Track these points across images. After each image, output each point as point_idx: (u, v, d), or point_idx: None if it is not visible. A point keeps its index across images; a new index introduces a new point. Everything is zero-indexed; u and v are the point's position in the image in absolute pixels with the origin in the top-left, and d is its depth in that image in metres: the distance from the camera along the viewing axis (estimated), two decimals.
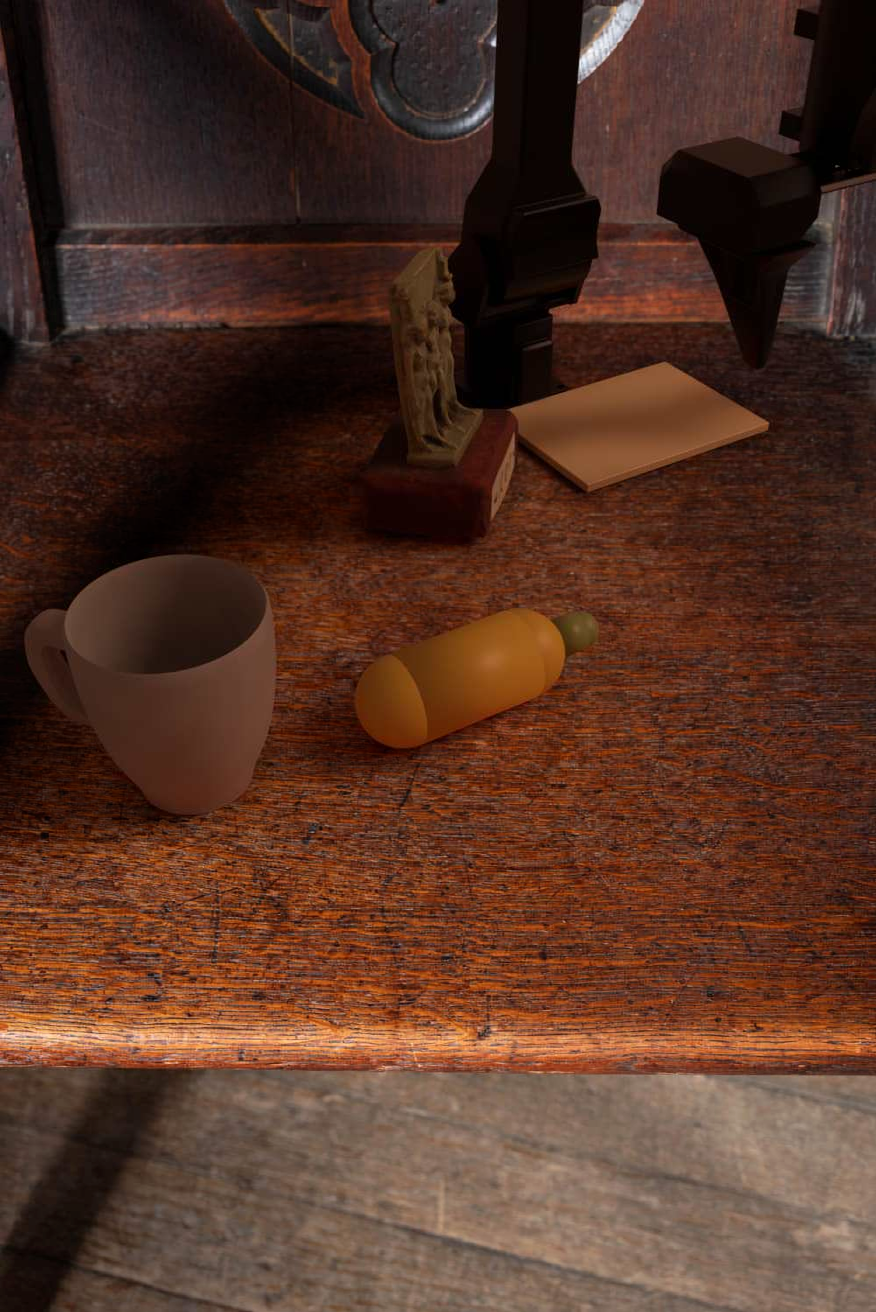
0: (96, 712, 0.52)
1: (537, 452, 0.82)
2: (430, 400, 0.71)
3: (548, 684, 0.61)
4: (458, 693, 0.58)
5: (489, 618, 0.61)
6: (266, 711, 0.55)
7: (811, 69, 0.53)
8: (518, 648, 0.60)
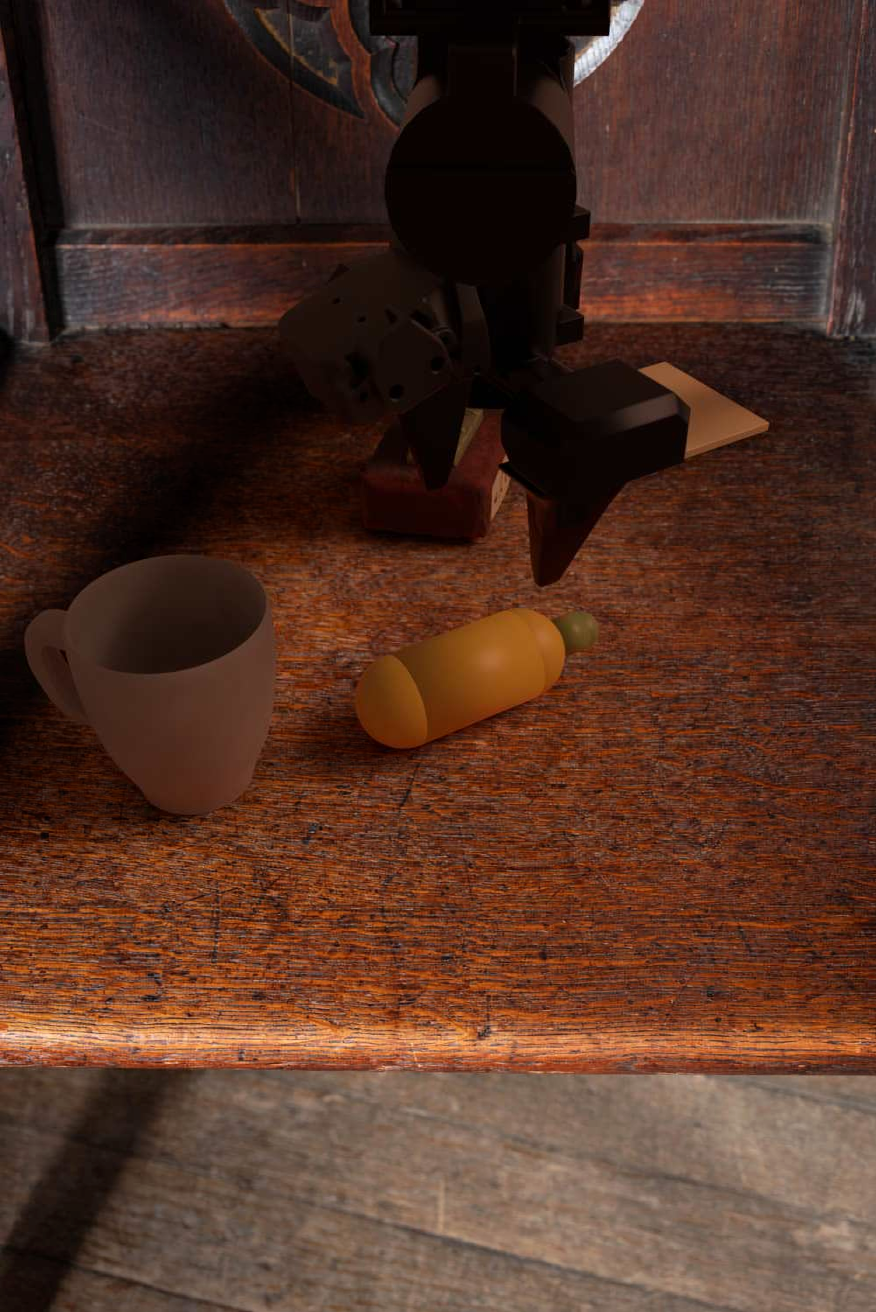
0: (96, 712, 0.52)
1: None
2: None
3: (548, 684, 0.61)
4: (458, 693, 0.58)
5: (489, 618, 0.61)
6: (266, 711, 0.55)
7: None
8: (518, 648, 0.60)
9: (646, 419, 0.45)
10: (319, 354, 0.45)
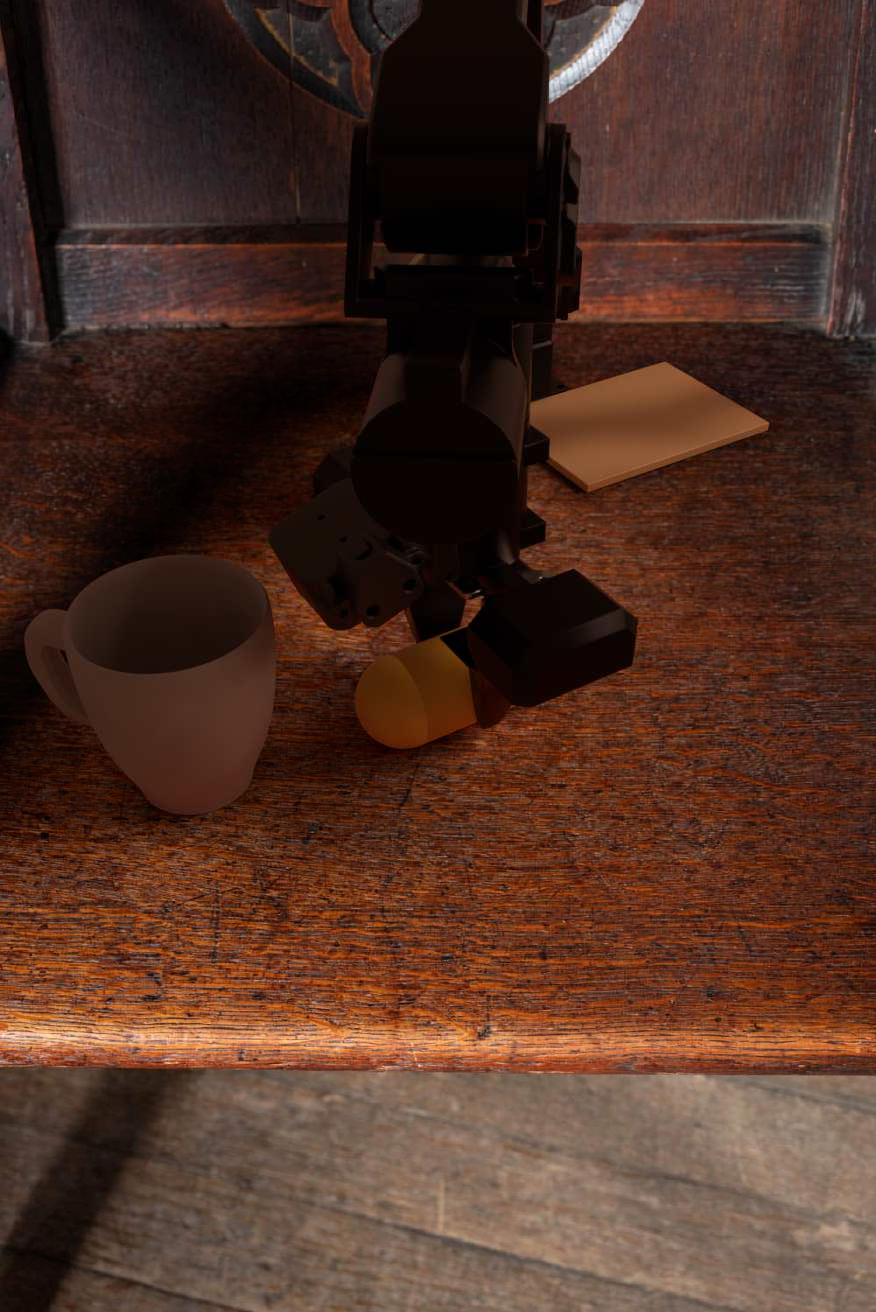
0: (96, 712, 0.52)
1: None
2: None
3: None
4: (458, 693, 0.58)
5: None
6: (266, 711, 0.55)
7: None
8: None
9: (596, 635, 0.50)
10: (305, 573, 0.51)
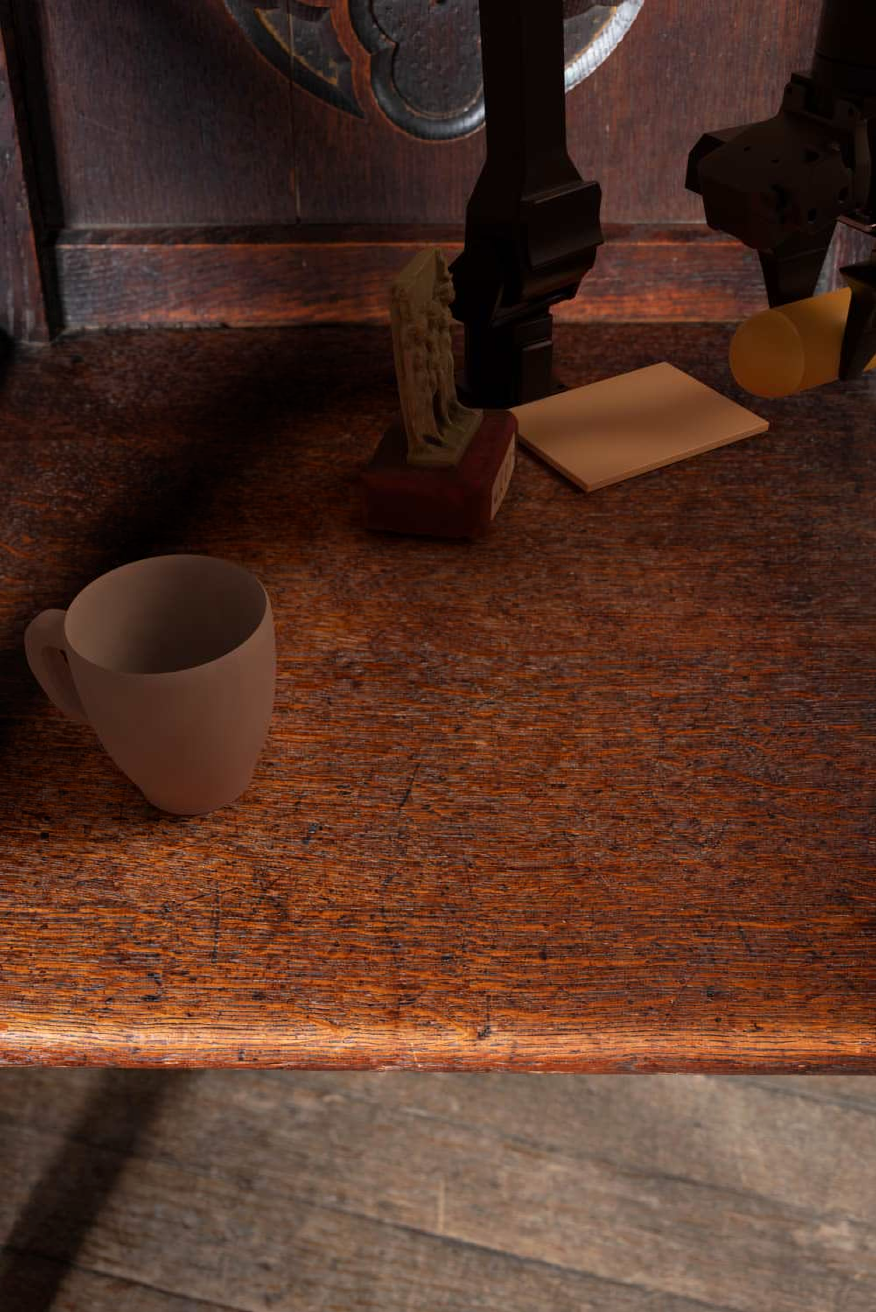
0: (96, 712, 0.52)
1: (537, 452, 0.82)
2: (430, 400, 0.71)
3: None
4: (830, 341, 0.65)
5: (844, 288, 0.68)
6: (266, 711, 0.55)
7: None
8: None
9: None
10: (746, 187, 0.57)
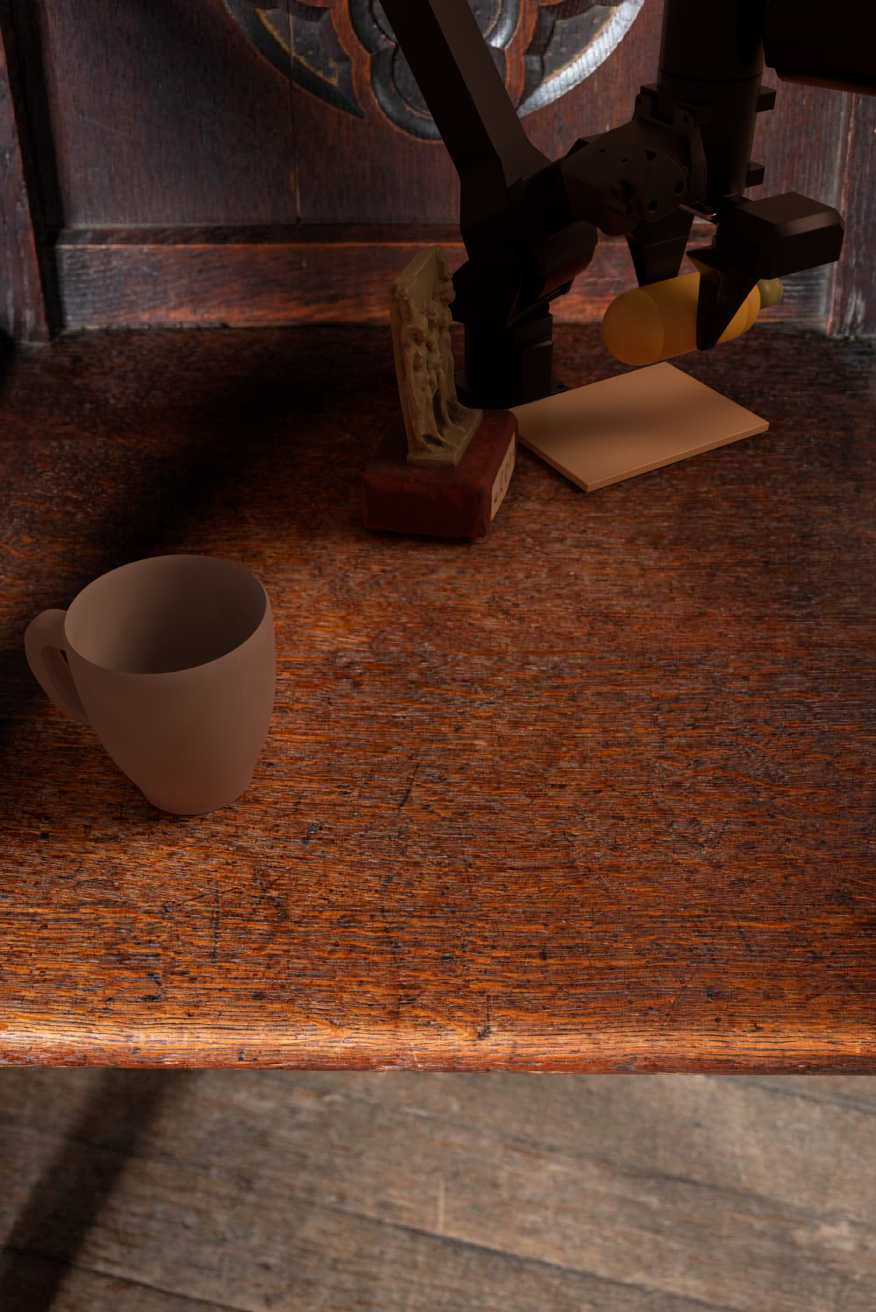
0: (96, 712, 0.52)
1: (537, 452, 0.82)
2: (430, 400, 0.71)
3: (749, 322, 0.78)
4: (686, 315, 0.75)
5: None
6: (266, 711, 0.55)
7: None
8: None
9: (819, 225, 0.67)
10: (598, 183, 0.68)
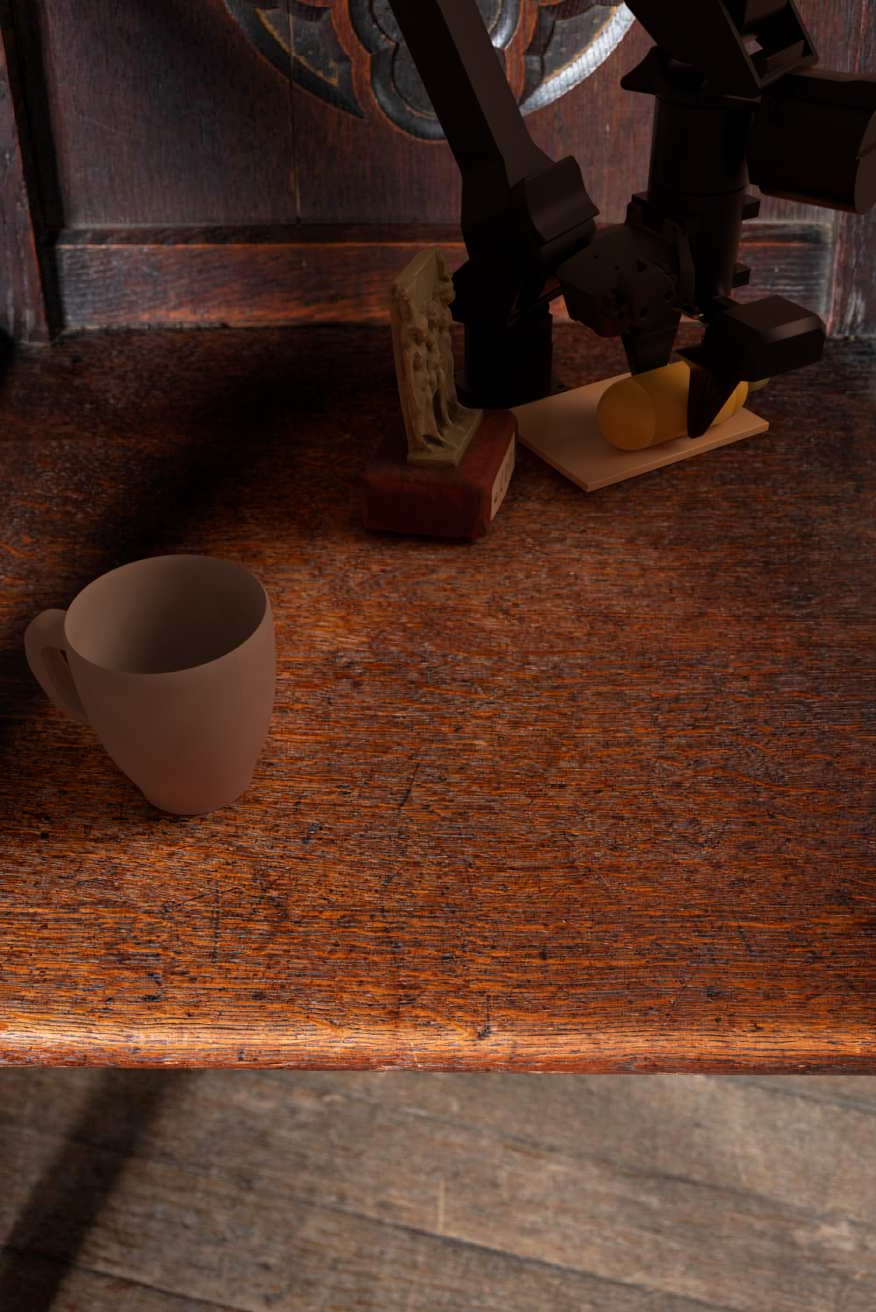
0: (96, 712, 0.52)
1: (537, 452, 0.82)
2: (430, 400, 0.71)
3: (736, 408, 0.82)
4: (677, 404, 0.79)
5: None
6: (266, 711, 0.55)
7: None
8: None
9: (801, 331, 0.71)
10: (591, 290, 0.71)
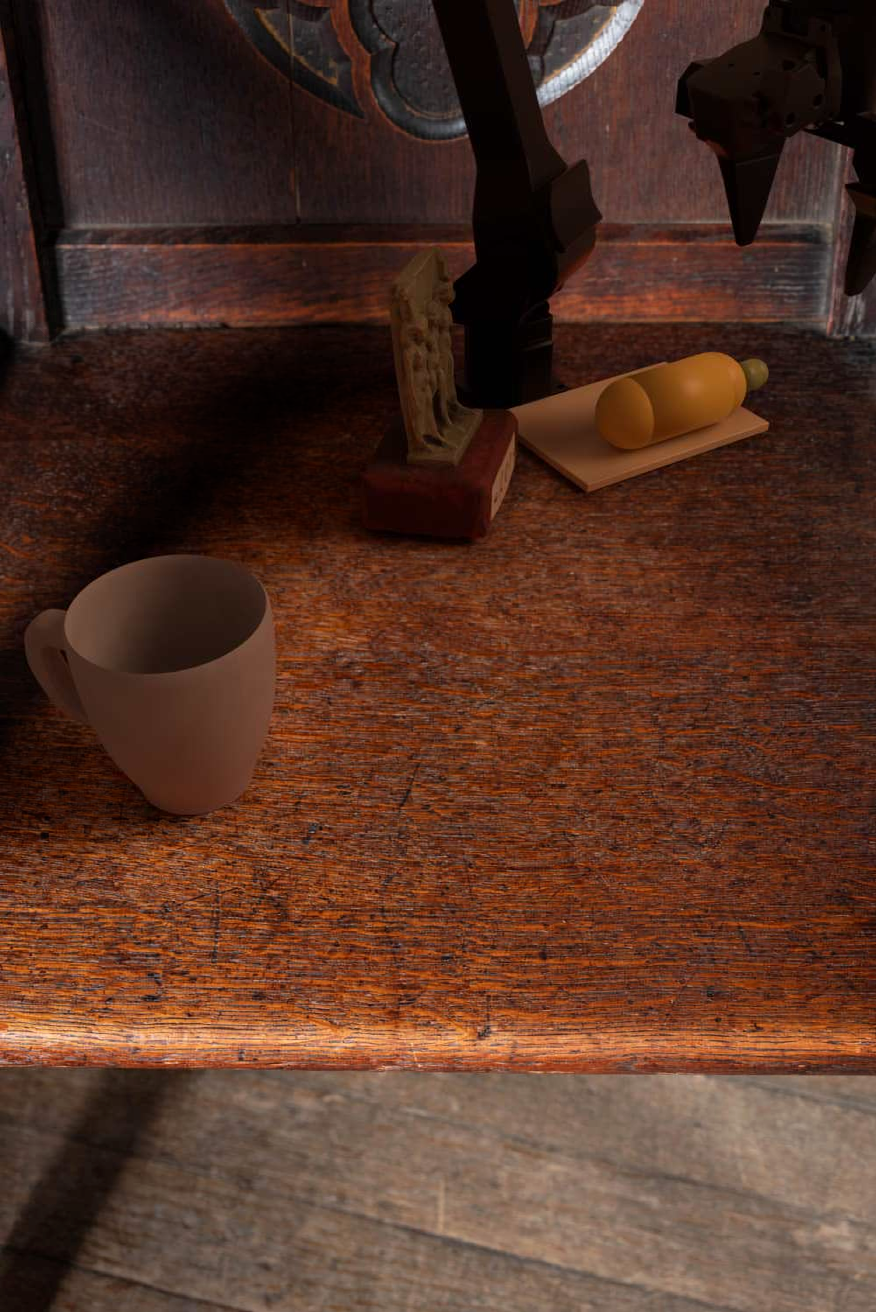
0: (96, 712, 0.52)
1: (537, 452, 0.82)
2: (430, 400, 0.71)
3: (735, 405, 0.82)
4: (675, 401, 0.79)
5: (690, 357, 0.82)
6: (266, 711, 0.55)
7: None
8: (715, 373, 0.81)
9: None
10: (730, 96, 0.64)
